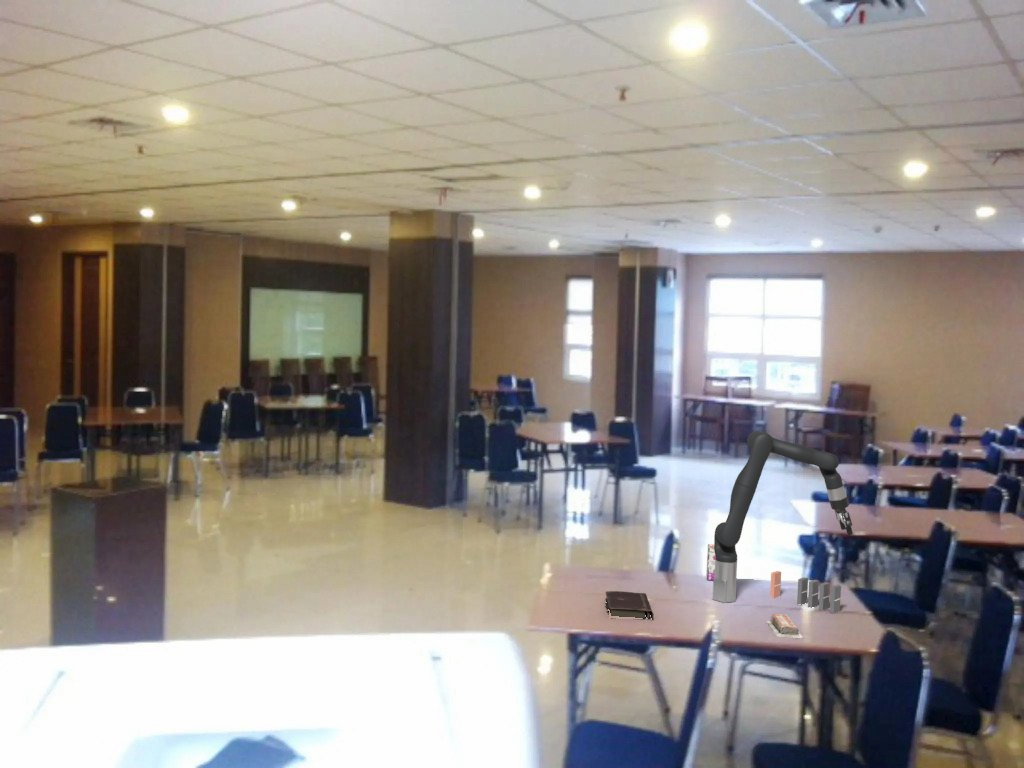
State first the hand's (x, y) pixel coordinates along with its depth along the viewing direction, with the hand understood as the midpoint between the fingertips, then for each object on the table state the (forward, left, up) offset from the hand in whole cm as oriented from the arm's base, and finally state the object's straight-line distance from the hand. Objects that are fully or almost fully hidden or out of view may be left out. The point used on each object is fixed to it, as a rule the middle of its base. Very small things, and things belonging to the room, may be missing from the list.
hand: (847, 531), depth 413 cm
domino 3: (-21, +4, -30) cm, 37 cm away
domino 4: (-20, -1, -30) cm, 36 cm away
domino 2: (-21, +9, -30) cm, 37 cm away
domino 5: (-21, -6, -30) cm, 37 cm away
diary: (-87, +51, -31) cm, 105 cm away
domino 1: (-20, +22, -30) cm, 42 cm away
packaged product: (-59, -6, -31) cm, 67 cm away
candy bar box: (-17, +54, -30) cm, 64 cm away
